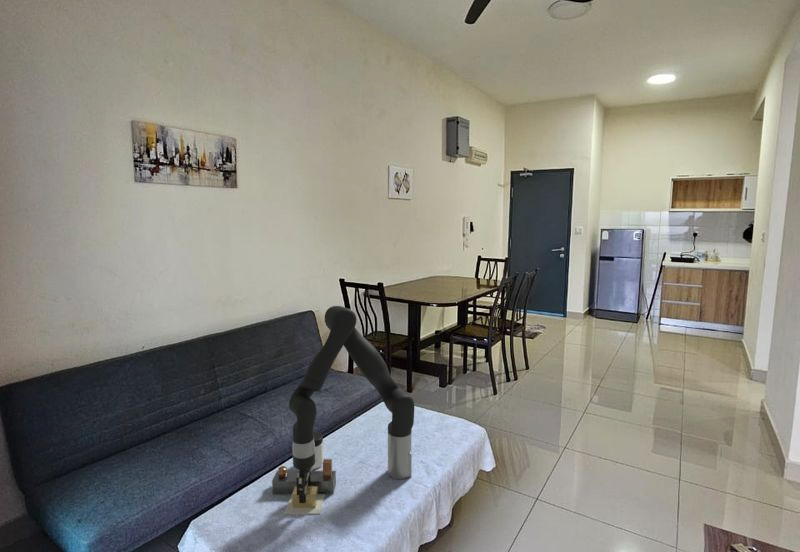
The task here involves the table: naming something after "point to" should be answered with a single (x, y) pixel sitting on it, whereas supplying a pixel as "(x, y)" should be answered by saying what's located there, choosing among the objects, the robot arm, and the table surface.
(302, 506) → the lever cap
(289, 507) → the felt mat
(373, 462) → the table surface
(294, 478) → the body
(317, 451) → the jar
